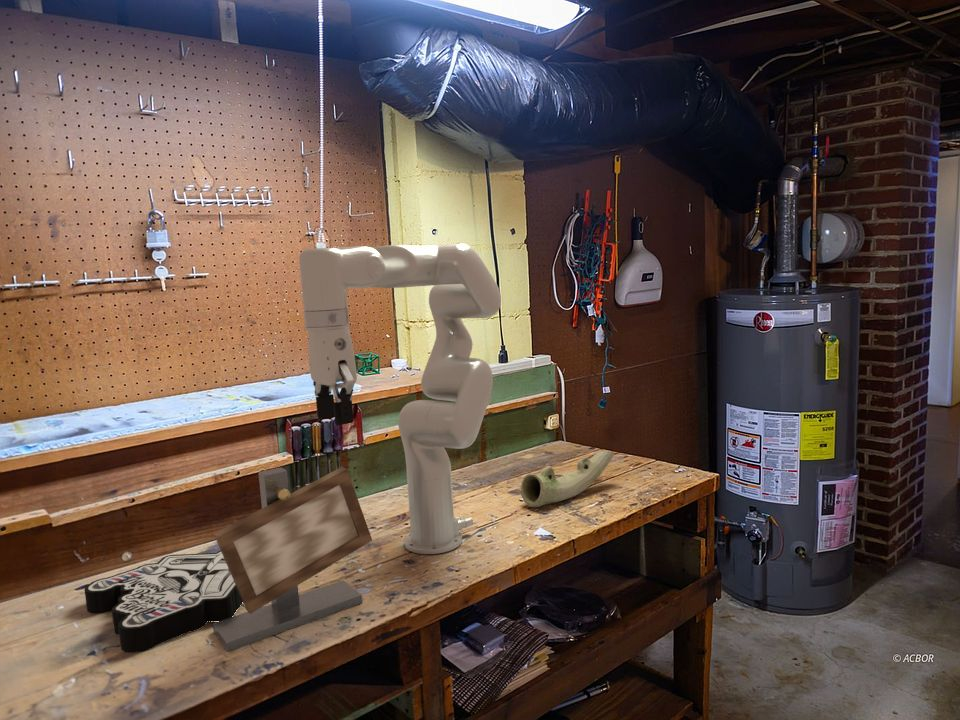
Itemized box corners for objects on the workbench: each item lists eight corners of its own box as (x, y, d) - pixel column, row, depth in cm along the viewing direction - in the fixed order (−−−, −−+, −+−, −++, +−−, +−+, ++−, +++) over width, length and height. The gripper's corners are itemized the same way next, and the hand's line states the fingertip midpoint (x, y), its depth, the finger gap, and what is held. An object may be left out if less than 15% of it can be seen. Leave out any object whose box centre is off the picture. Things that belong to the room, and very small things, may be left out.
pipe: (542, 514, 163) (540, 474, 161) (517, 506, 169) (516, 467, 168) (616, 485, 181) (615, 448, 179) (592, 479, 187) (591, 443, 186)
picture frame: (367, 537, 128) (342, 466, 124) (372, 540, 126) (346, 469, 122) (246, 609, 115) (213, 534, 111) (250, 614, 114) (217, 537, 110)
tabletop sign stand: (343, 587, 130) (332, 455, 127) (362, 602, 124) (351, 464, 120) (213, 631, 117) (197, 484, 113) (227, 651, 110) (210, 496, 107)
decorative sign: (78, 584, 129) (232, 534, 149) (81, 606, 129) (234, 554, 150) (127, 636, 109) (297, 570, 129) (131, 662, 109) (299, 593, 130)
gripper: (369, 320, 114) (377, 424, 116) (326, 316, 128) (334, 410, 130) (326, 324, 110) (335, 432, 112) (287, 320, 124) (296, 416, 126)
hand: (335, 419), depth 121 cm, fingers open, 6 cm apart
